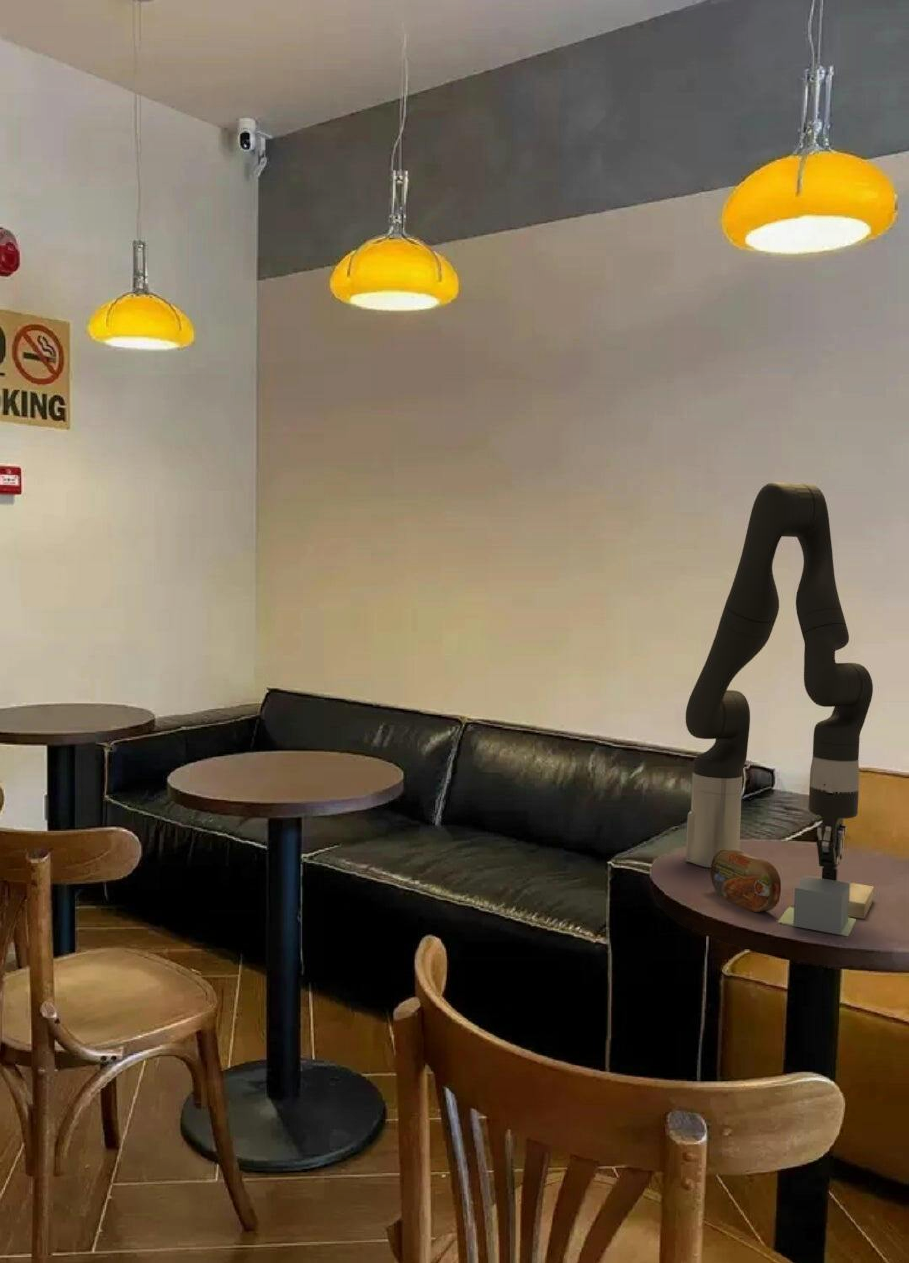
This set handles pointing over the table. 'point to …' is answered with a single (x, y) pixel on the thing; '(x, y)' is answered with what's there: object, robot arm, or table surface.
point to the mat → (788, 920)
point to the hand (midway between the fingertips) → (829, 890)
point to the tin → (745, 880)
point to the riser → (859, 899)
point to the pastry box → (821, 904)
